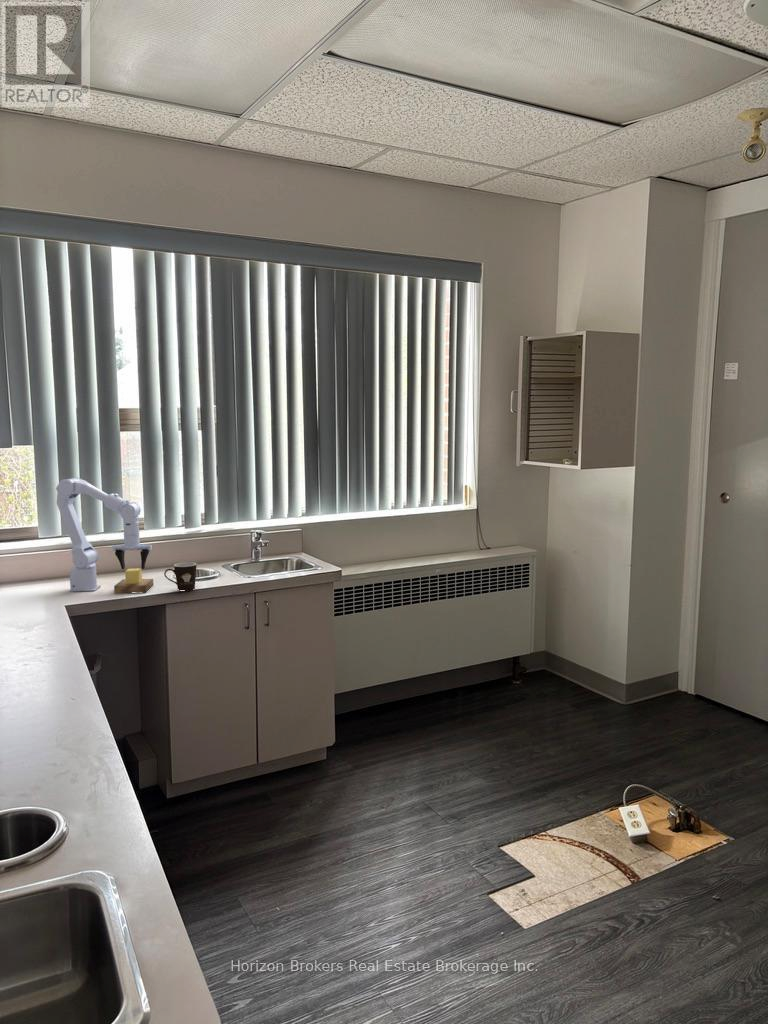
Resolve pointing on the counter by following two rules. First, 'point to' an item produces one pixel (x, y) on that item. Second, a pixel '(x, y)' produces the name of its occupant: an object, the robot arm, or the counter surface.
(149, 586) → the walnut base
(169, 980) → the counter surface
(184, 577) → the coffee mug
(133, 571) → the mustard cube
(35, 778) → the counter surface
